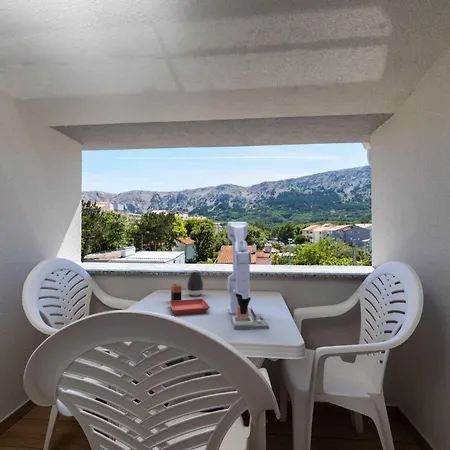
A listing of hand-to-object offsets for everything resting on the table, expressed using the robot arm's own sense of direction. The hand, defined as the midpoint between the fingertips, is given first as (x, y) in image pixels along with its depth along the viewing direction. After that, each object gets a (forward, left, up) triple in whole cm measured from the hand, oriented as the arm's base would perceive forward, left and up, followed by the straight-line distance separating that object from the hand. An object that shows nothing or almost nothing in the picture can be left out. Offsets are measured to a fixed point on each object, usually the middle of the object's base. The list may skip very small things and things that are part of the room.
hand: (242, 312), depth 123 cm
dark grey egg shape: (-58, -22, -6) cm, 62 cm away
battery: (-42, -32, -6) cm, 53 cm away
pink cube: (0, 0, -2) cm, 2 cm away
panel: (-3, +3, -5) cm, 7 cm away
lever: (-4, +6, -3) cm, 8 cm away
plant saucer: (-25, -24, -6) cm, 35 cm away
